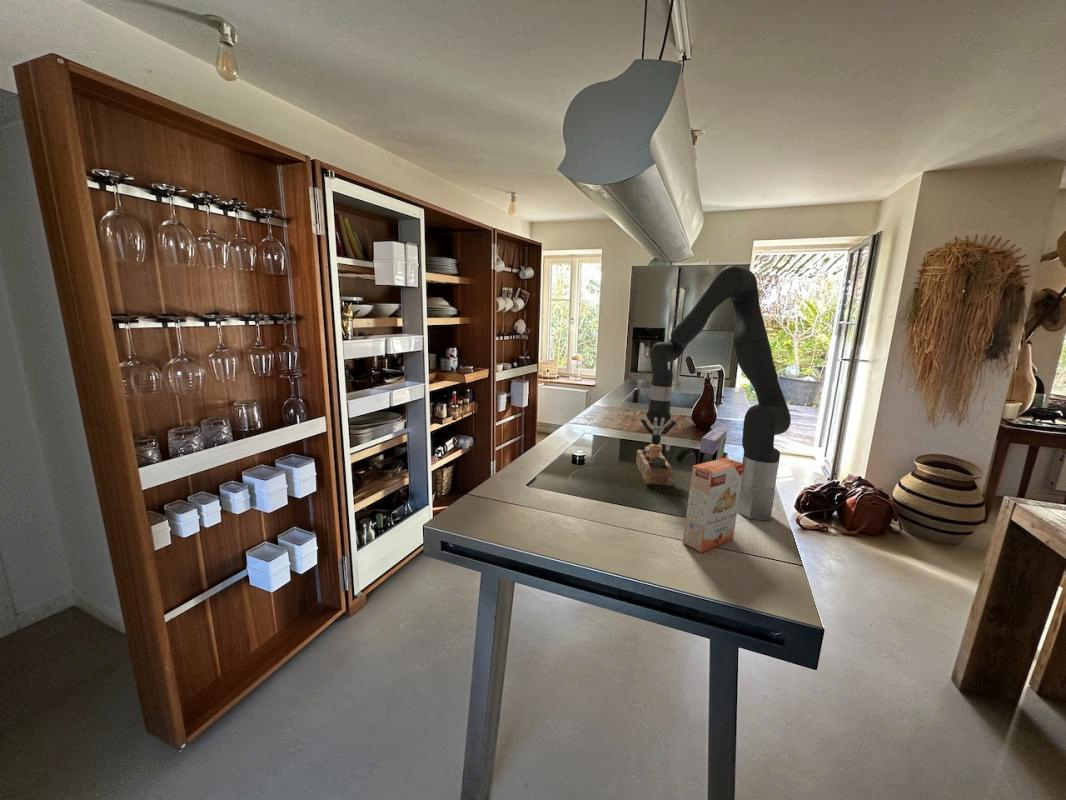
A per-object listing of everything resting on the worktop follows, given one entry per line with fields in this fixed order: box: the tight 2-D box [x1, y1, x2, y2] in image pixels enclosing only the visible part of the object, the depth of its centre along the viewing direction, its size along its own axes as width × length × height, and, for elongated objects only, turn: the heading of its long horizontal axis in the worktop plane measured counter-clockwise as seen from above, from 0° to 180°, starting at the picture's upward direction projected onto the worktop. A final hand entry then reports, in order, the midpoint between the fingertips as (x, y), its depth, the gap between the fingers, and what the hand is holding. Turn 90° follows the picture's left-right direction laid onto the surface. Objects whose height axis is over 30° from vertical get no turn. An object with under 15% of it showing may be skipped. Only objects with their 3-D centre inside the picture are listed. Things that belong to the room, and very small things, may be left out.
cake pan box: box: [697, 427, 728, 464], centre depth 149 cm, size 19×5×18 cm, turn 143°
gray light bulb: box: [652, 457, 666, 469], centre depth 148 cm, size 5×5×7 cm
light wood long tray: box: [635, 449, 675, 487], centre depth 155 cm, size 22×9×6 cm, turn 175°
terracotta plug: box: [648, 443, 663, 462], centre depth 154 cm, size 5×5×7 cm
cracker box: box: [682, 457, 745, 554], centre depth 105 cm, size 14×6×21 cm, turn 124°
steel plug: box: [644, 445, 650, 456], centre depth 161 cm, size 5×5×7 cm
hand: (655, 444), depth 153 cm, fingers closed
